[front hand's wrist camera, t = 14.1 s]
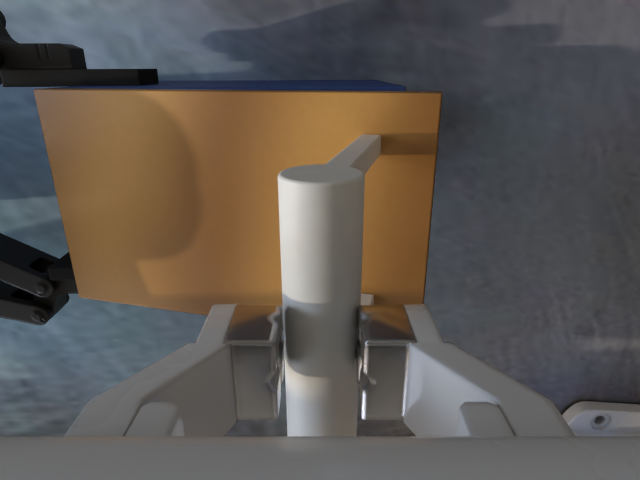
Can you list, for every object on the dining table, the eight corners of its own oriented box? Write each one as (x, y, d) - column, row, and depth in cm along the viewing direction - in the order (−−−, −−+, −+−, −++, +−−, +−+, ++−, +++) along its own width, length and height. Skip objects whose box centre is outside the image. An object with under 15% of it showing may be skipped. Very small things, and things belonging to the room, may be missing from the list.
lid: (442, 91, 15) (438, 118, 7) (421, 331, 19) (402, 525, 11) (53, 87, 19) (-225, 103, 11) (94, 287, 23) (-96, 407, 15)
